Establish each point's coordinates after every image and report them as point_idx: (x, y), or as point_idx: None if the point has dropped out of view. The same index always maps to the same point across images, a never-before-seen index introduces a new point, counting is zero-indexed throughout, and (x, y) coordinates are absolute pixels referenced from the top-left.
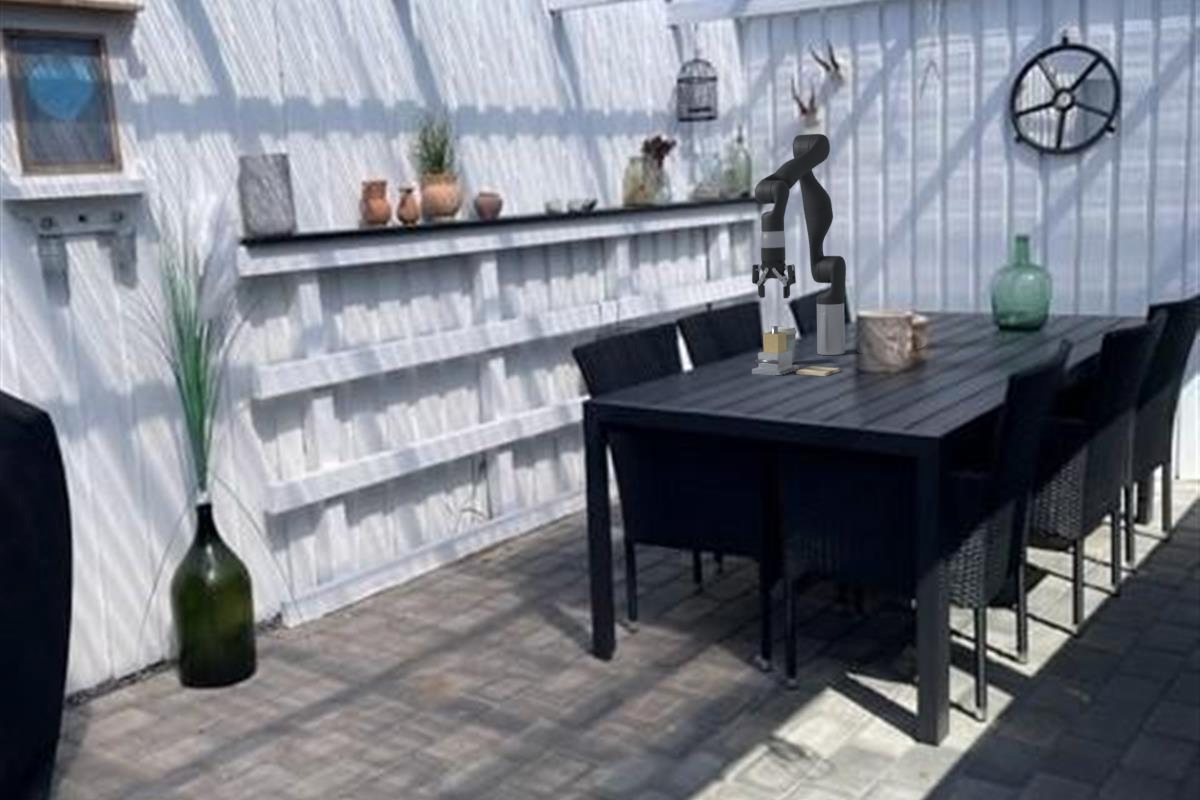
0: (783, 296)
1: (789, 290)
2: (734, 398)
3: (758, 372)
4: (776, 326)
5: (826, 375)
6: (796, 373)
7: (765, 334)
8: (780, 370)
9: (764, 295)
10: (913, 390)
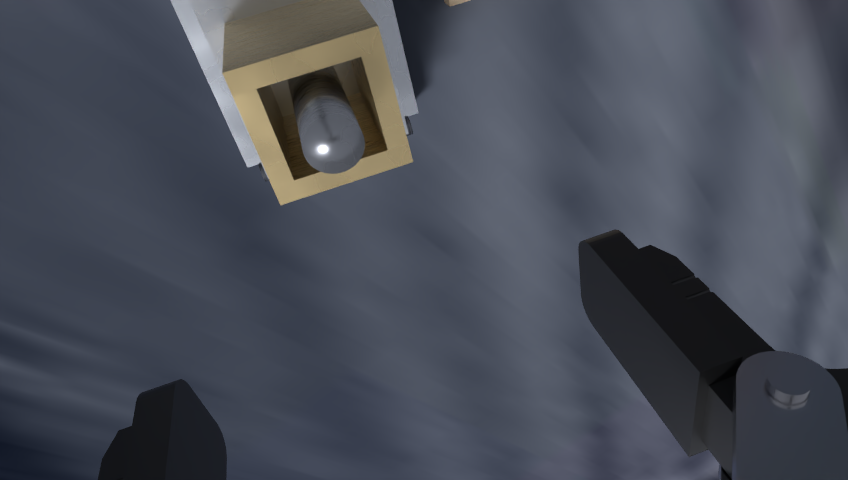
0: (600, 330)
1: (719, 313)
2: (566, 431)
3: None
4: (356, 140)
5: None
6: (446, 1)
7: (300, 194)
8: (408, 96)
9: (184, 404)
10: None
